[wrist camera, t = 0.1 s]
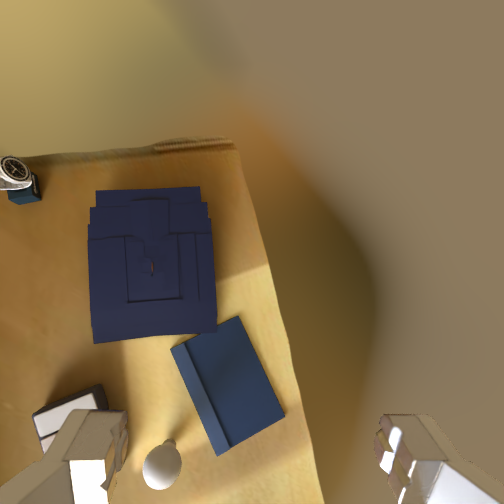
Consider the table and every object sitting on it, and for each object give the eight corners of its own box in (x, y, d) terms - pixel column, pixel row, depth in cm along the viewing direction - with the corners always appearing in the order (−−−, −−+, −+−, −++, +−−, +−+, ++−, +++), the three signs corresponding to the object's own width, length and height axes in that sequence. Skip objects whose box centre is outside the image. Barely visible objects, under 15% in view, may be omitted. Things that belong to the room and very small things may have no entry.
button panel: (55, 502, 51) (28, 416, 52) (67, 486, 56) (41, 406, 57) (120, 472, 53) (92, 390, 54) (127, 459, 57) (101, 382, 58)
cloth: (285, 415, 61) (285, 417, 60) (216, 455, 59) (216, 456, 58) (238, 315, 63) (238, 315, 63) (170, 349, 61) (169, 349, 60)
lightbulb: (191, 435, 59) (186, 465, 48) (176, 467, 58) (166, 505, 47) (163, 421, 59) (151, 448, 48) (147, 453, 57) (130, 487, 47)
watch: (51, 198, 63) (17, 176, 52) (9, 206, 62) (-35, 186, 51) (46, 173, 64) (12, 146, 53) (5, 181, 63) (-39, 155, 52)
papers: (209, 189, 66) (209, 184, 62) (218, 329, 64) (218, 333, 61) (91, 194, 63) (83, 189, 59) (97, 340, 62) (90, 345, 58)
